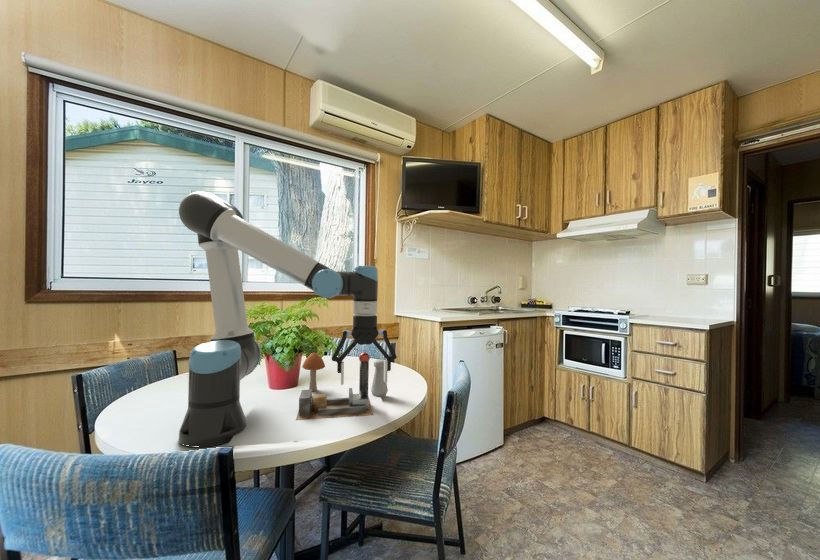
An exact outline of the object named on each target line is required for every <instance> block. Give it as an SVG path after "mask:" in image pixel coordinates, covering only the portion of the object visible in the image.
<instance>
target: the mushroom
mask: <svg viewBox="0 0 820 560" xmlns="http://www.w3.org/2000/svg"><path fill="white" fill-rule="evenodd" d="M301 367H302V368H303V369H304V370H307V371H309V372H310V373H309V375H310V377H309V387H308V390H312V393H313V392H317V390H318V387H317V371H319V370H323V369H324V368H325V367H326V364H325V361H324V360H323V358H322V356H320V355H319V354H318V353H317V352H315V351H314V352H312V353H311V354H309V355H308V356H307V357H306V359H305V360H304V361H303V364H302V366H301Z"/></svg>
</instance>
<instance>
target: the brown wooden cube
mask: <svg viewBox="0 0 820 560" xmlns="http://www.w3.org/2000/svg"><path fill="white" fill-rule="evenodd" d="M327 396H328V395H327V394H324V393H318V394H313V395H312V411H313V412H318V409H319V408H326V406H327V399H328V398H327Z"/></svg>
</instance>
